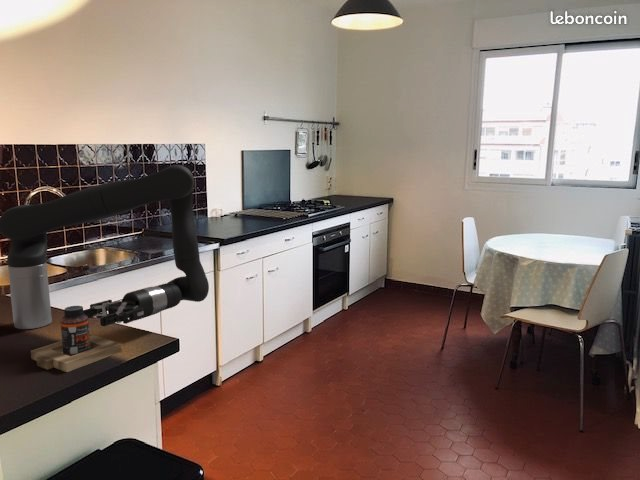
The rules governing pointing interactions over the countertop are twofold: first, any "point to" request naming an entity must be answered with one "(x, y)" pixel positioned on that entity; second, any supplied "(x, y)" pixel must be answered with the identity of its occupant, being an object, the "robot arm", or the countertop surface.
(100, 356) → the holder
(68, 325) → the supplement bottle
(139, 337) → the countertop surface
